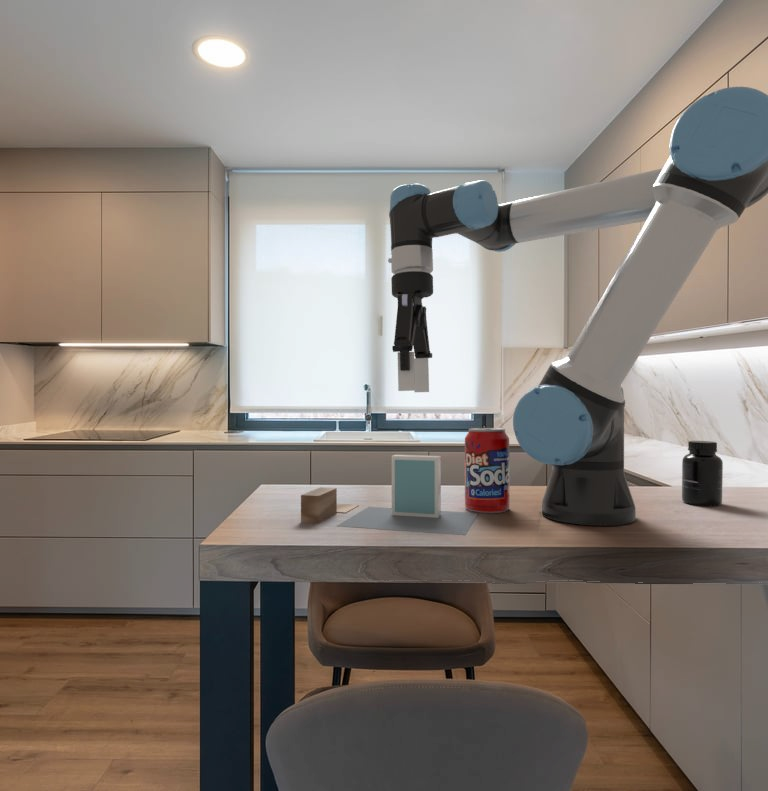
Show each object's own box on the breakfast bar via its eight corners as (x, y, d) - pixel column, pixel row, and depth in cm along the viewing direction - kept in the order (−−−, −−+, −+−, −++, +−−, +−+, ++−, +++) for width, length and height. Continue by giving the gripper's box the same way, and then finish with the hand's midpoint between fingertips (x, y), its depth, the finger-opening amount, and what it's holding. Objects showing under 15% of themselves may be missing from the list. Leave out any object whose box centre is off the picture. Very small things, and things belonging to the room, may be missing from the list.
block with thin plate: (359, 509, 104) (359, 482, 104) (327, 528, 89) (327, 496, 89) (328, 507, 105) (328, 480, 105) (292, 525, 90) (292, 494, 90)
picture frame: (440, 514, 95) (440, 455, 95) (437, 517, 93) (437, 457, 93) (395, 512, 98) (395, 454, 98) (391, 515, 95) (391, 456, 95)
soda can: (496, 506, 105) (496, 427, 105) (517, 515, 98) (517, 429, 98) (457, 509, 103) (457, 427, 103) (476, 518, 96) (476, 430, 96)
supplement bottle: (680, 504, 107) (680, 441, 107) (683, 499, 113) (683, 439, 113) (722, 508, 104) (722, 443, 104) (723, 502, 110) (722, 441, 110)
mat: (478, 516, 97) (478, 512, 97) (465, 538, 82) (465, 534, 82) (368, 509, 103) (368, 506, 103) (336, 529, 87) (336, 525, 87)
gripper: (406, 289, 115) (408, 393, 114) (373, 259, 91) (376, 390, 90) (442, 286, 113) (445, 392, 112) (419, 255, 89) (422, 389, 88)
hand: (414, 391), depth 101 cm, fingers open, 13 cm apart
